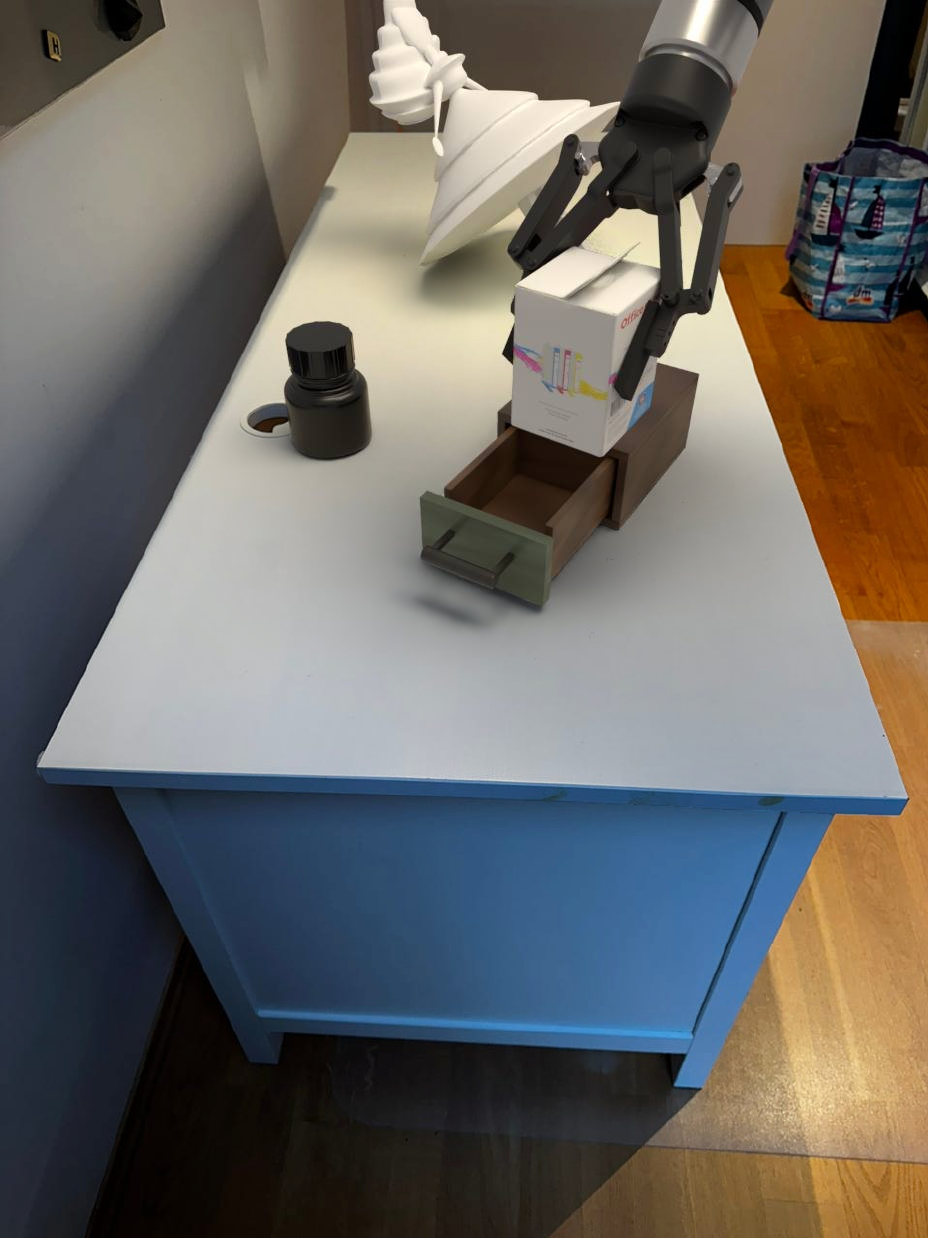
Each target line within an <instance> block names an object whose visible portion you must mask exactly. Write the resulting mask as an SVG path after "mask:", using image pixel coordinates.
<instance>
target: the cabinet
mask: <svg viewBox="0 0 928 1238" xmlns="http://www.w3.org/2000/svg"><path fill="white" fill-rule="evenodd" d="M699 379H700V373H698V372H695V371H691V370H688V369H684V368H679V367H676V366H674V365H673V366H672V365H668V364H665V363H662V362H658V361H657V366H656V372H655V379H654V386H653V392H652V398H651V404H650V407H649V408H648V410H647V411H646V412H645V413H644V414H643V415H642V416H641V417H640V418H639V419H638V420H637V421H636V422H635V423H634V424H633V425H632V427H631V428H630V429H629V430H628V431H627V432H626V433H625V434H624V435H623V436H622V437H621V438H620V439H619V440H618V441H617V442H616V443H615V444H614V445H613V447H612V448H611V449H610V450H609V451H608V452H607V453H606V454H605V455H608V456H612V457H615V458H618V459H619V464H618V472H617V480H616V488H615V495H614V503H613V508H612V509H611V511H610V512H609V513H608V514H607V515H606V517H605V518H604V519H603V520H602V521H601V522H600V524H599V525H603V526H606V527H609V528H611V529H613V530H617V531H620V529H621V528H622V527H623V526H624V524H625V523H626V522H627V520H628V519H629V518H630V517H631V515H633V513H634V512H635V511H636V510H637V509H638V507H639V506H640V504H641V503H642V502H643V501H644V500H645V499H646V497H647V496H648V495H649V494H650V492H651V491H652V490H653V488H654V487H655V486H656V485H657V484H658V482H659V481H660V480H661V479H662V477H663V476H664V475H665V473H666V472H667V471H668V470H669V469H670V468H671V466H672V465H673V464H674V462H675V461H676V460H677V459H678V457H680V456H681V454H682V453H683V451H684V450H685V449H686V447H687V443H688V438H689V437H688V436H689V431H690V425H691V420H692V416H693V410H694V405H695V400H696V394H697V388H698V383H699ZM511 414H512V398H511V399H510V400H509V401H508V402H507V403H505V404H504V405H503V406H501V408H500V409H499V410H498V411H497V417H496V418H497V420H496V421H497V422H496V423H497V425H496V426H497V427H496V439H497V438H498V437H499V436H500V435H501V434H503V433H504V432H505V431H506V430H507V429H508V428H509V427H510V426H511V425H512V424H511Z"/></svg>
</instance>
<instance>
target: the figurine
mask: <svg viewBox="0 0 928 1238" xmlns="http://www.w3.org/2000/svg"><path fill="white" fill-rule="evenodd" d="M382 4H383V5H382V7H383V16H384V25H383V26H380V28H378V29H377V41H378V49H377V50H376V51H375V50H374V52H373V53H372V55H371V59H372V63H373V67H374V71H372V72H371V73H370V74H369V75H368V81H369V85H370V88H371V91H372V96H371V97H370V98H369V102H370V104H372V105H373V106H374V107H375V108H378V109H379V110H382V111H381V115H383V116H384V117H386V118H388V119H390V120H394V121H397V124H399V125H401V126H409V125H416V124H418V123H422V122H424V121H426V120H429V119H430V118H432V117H433V119H434V121H433V123H434V125H433V126H434V136H433V138H432V146H433V149H434V152H435V154H437V157H436V161H435V166H434V172H433V180H434V182H435V183H438V184H437V189H436V193H435V196H434V199H433V203H432V206H431V209H430V213H429V217H428V220H427V225H426V229H425V230H426V231H425V235H426V236H427V237H428V236H429V239H428V241H427V243H426V246H425V248H424V250H423V252H422V255H421V257H420V259H419V262H418V267H426V266H429V265H430V264H432V263H433V262H435V261H437V260H440V259H442V258H444V257H447V256H449V255H451V254H453V253H454V252H457V250H459V249H461V248H463V247H464V246H466V245H468V244H469V243H470V242H472V241H473V240H475V239H476V238H477V237H479V236H481V235H482V234H484V233H486V232H488V231H489V230H491V229H492V228H494V227H495V226H497V225H498V224H499V223H500V222H502V221H504V220H505V219H506V218H507V217H509V216H510V215H512V214H513V213H514V212H516V211H517V210H520V211H521V213H522V214H523V216H524V218H525V217H526V215H527V214H528V212H529V210H530V209H531V207H532V205H533V204H534V202H535V200H536V199H537V197H538V195H539V194H540V192H541V190H542V189H543V187H544V186H545V184H546V182H547V181H548V179H549V177H550V176H551V174H552V172H553V171H554V169H555V167H556V166H557V164H558V161H559V157H560V153H561V149H562V145H563V141H564V139H565V138H566V136H568V135H569V134H576V135H577V136H578V138H579V140H580V141H581V142H595V140H596V139H597V137H599V136H600V134H602V133H603V131H604V130H605V128H606V127H607V125H608V124H609V123H610V122H611V120H612V119H613V118H614V117H616V115H617V111H618V108H619V105H620V103H621V101H614V102H609V103H604V104H600V105H595V106H590V105H591V102H590V100H588V99H587V100H586V99H555V100H554V99H553V100H539V96H538V94H536V93H535V92H531V91H523V90H521V91H520V90H494V89H493V90H490V89H489V90H488V89H487V88H485V86H483V85H480V84H479V83H478V82H476V81H475V80H473V79H471V78H470V77H468V74H467V72H466V70H465V69H464V67H463V63H464V62H465V59H466V54H463V53H455V54H451V55H448V53H447V52H446V51H444V50H440V49H441V39H440V37H439V36H438V35H436V34H432V32H431V29H430V24H429V20H428V18H427V17H426V16H423V15H422V14H421V12H420V11H419V10H418V9H417V5H416V0H383V1H382ZM463 87H465V88H463ZM448 100H449V104H448V110H447V113H446V119H445V123H444V127H443V132H442V134H441V135H442V136H441V139H440V138H438V135H439V134H438V133H439V124H440V118H441V117H440V116H441V107H442V103H443V102H446V101H448ZM567 213H568V212H566V210H565V211H564V212H563V214H562V216H561V217H560V219H559V221H558V222H557V224H558V223H559V222H560V221H561V220H562V219H563V218H564V217H565V215H566V214H567ZM557 224H556V225H557ZM556 225H555V226H556ZM579 248H582V249H586V250H590V251H594V252H598V253H601V252H599V251H597V250H594V248H593V247H592V245H591V244H590V242H589V241H588V239H587V238H586V239H585V240H584V242H583V243H582V244H581V245H580V246H579ZM608 255H609V254H608ZM609 256H611V255H609Z"/></svg>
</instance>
